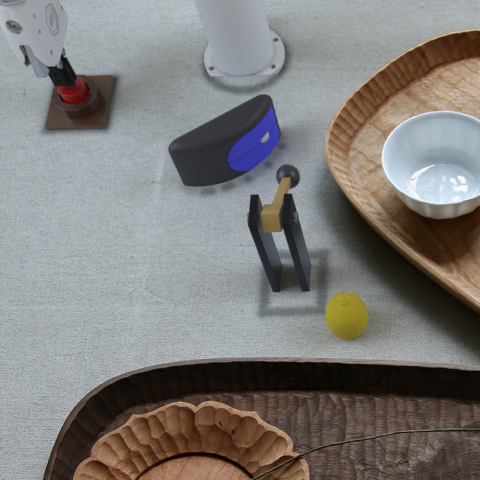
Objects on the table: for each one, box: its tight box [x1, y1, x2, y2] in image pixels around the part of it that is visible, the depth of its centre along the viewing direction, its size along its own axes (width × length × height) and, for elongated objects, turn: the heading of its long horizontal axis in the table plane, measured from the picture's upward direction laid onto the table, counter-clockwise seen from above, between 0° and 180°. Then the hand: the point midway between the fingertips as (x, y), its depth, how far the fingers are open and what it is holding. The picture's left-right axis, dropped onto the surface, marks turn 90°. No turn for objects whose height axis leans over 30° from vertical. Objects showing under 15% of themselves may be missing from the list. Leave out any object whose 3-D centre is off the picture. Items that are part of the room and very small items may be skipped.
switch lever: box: [261, 163, 301, 233], centre depth 102 cm, size 16×3×3 cm, turn 179°
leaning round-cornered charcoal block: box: [167, 93, 282, 188], centre depth 114 cm, size 16×5×9 cm, turn 123°
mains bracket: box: [246, 192, 312, 293], centre depth 103 cm, size 9×8×17 cm
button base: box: [44, 74, 115, 131], centre depth 124 cm, size 10×9×2 cm
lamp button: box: [58, 76, 88, 104], centre depth 122 cm, size 4×4×2 cm
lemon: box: [324, 291, 369, 341], centre depth 104 cm, size 6×6×8 cm
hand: (66, 82), depth 121 cm, fingers closed
